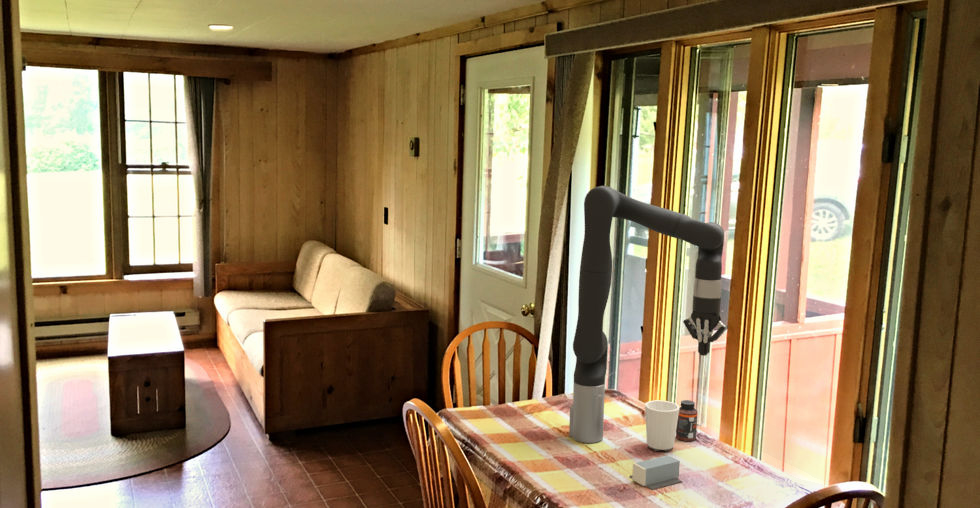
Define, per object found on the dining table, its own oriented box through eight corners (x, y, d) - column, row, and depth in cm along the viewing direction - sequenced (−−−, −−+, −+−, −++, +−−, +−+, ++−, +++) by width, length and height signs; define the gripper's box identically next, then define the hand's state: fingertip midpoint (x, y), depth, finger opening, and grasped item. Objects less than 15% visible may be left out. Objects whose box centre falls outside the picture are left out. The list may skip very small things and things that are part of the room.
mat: (629, 476, 216) (629, 475, 216) (658, 469, 221) (658, 468, 221) (652, 489, 208) (652, 488, 208) (681, 482, 213) (681, 481, 213)
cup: (657, 456, 230) (659, 413, 228) (635, 444, 239) (637, 402, 237) (684, 450, 235) (686, 408, 233) (662, 439, 243) (664, 398, 241)
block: (667, 471, 219) (632, 479, 213) (668, 455, 219) (633, 463, 213) (678, 477, 215) (643, 486, 210) (679, 461, 215) (644, 469, 209)
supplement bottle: (696, 442, 241) (698, 406, 239) (675, 441, 242) (677, 404, 240) (695, 435, 247) (697, 399, 245) (675, 433, 248) (677, 398, 246)
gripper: (679, 293, 228) (675, 353, 230) (723, 299, 219) (719, 362, 222) (691, 289, 234) (688, 348, 236) (735, 296, 225) (731, 356, 228)
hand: (703, 354), depth 229 cm, fingers closed
